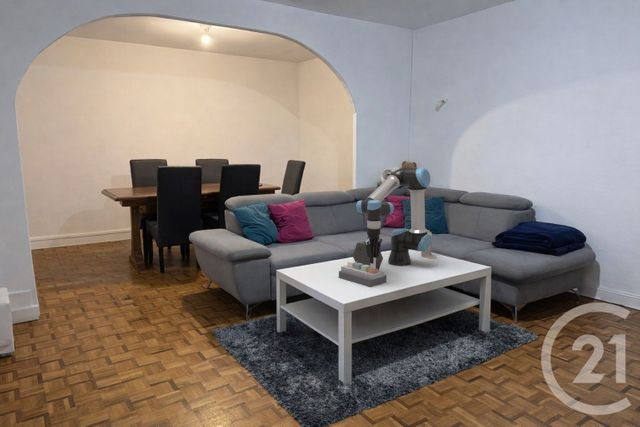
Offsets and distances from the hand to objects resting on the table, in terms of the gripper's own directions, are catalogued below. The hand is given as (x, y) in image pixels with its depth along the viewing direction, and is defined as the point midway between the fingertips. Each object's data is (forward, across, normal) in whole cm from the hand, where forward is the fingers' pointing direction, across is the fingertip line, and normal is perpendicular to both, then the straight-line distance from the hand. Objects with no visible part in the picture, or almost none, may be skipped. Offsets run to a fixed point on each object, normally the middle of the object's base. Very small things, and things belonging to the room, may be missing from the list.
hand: (372, 268), depth 257 cm
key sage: (+3, 0, -5) cm, 6 cm away
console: (+9, 0, -8) cm, 12 cm away
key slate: (+2, 0, -11) cm, 11 cm away
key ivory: (+2, 0, -16) cm, 17 cm away
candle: (+8, -78, -14) cm, 80 cm away
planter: (+9, -18, -20) cm, 29 cm away
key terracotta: (+3, 0, 0) cm, 3 cm away
